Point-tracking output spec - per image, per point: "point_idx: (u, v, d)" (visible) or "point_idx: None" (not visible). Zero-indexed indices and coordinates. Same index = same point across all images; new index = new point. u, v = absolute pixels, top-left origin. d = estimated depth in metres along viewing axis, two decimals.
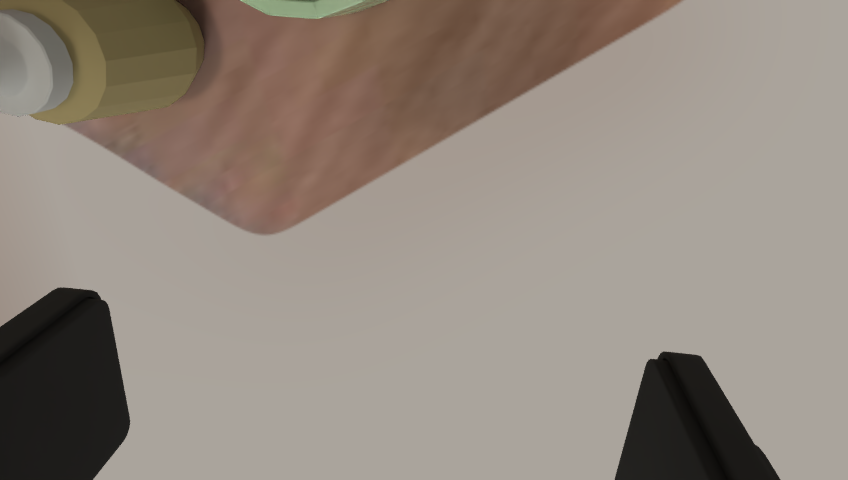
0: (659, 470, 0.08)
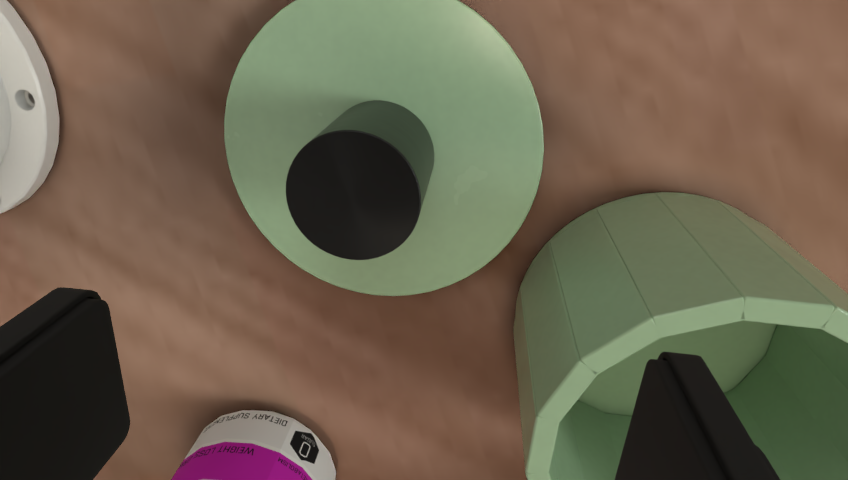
0: (659, 470, 0.08)
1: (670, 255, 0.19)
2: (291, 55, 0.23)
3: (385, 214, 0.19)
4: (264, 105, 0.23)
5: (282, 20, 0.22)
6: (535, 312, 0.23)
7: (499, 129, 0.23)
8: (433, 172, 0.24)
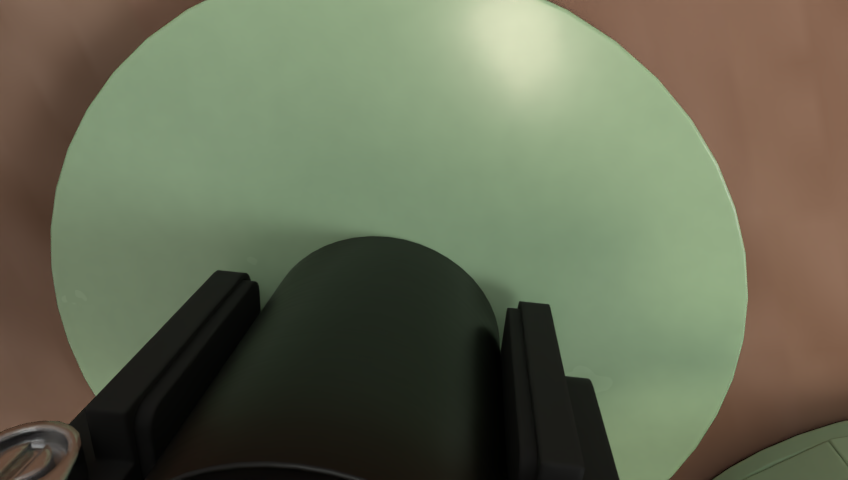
0: (503, 400, 0.09)
1: None
2: (180, 139, 0.10)
3: None
4: (132, 241, 0.11)
5: (153, 61, 0.09)
6: None
7: (647, 300, 0.10)
8: None
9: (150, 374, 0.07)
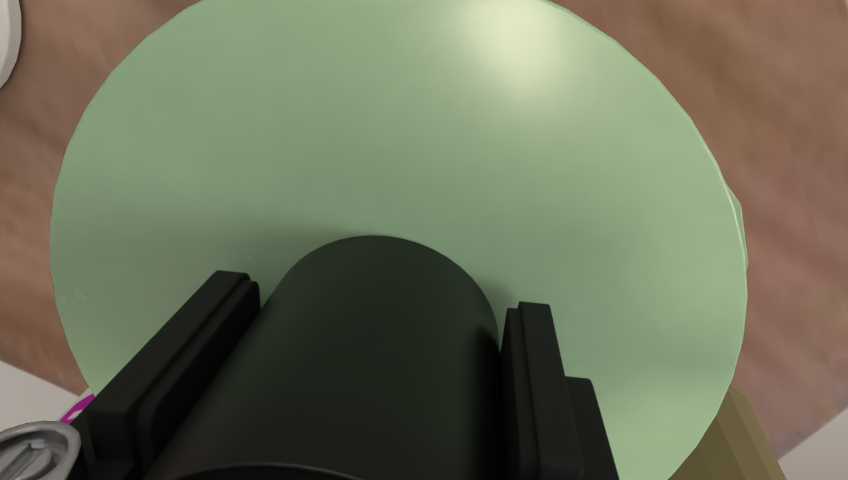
0: (503, 400, 0.09)
1: None
2: (179, 138, 0.10)
3: None
4: (132, 240, 0.11)
5: (151, 61, 0.09)
6: None
7: (647, 299, 0.10)
8: None
9: (150, 374, 0.07)
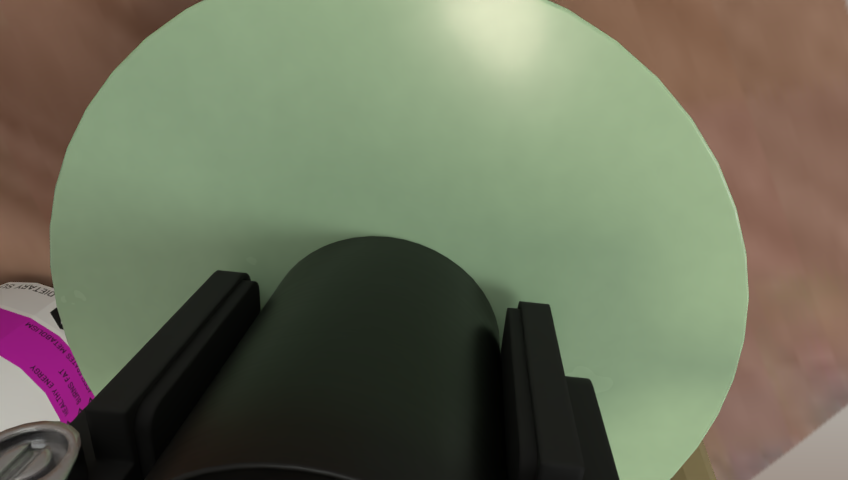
0: (503, 400, 0.09)
1: None
2: (179, 139, 0.10)
3: None
4: (132, 241, 0.11)
5: (152, 61, 0.09)
6: None
7: (648, 299, 0.10)
8: None
9: (150, 374, 0.07)
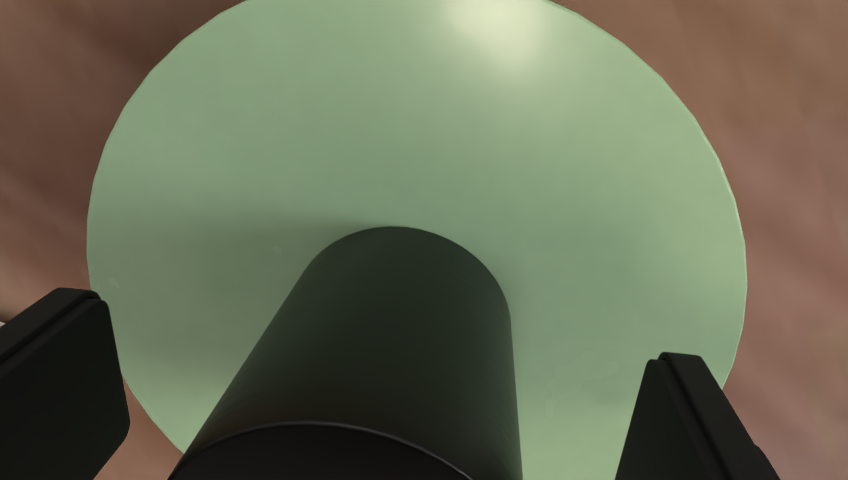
0: (659, 470, 0.08)
1: None
2: (211, 134, 0.11)
3: None
4: (164, 231, 0.11)
5: (188, 61, 0.10)
6: None
7: (652, 287, 0.11)
8: None
9: None
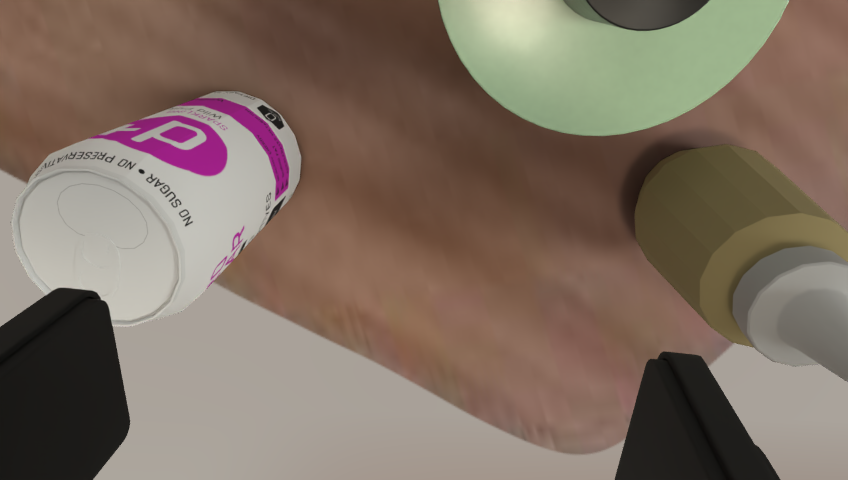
0: (659, 470, 0.08)
1: None
2: None
3: None
4: None
5: None
6: None
7: None
8: None
9: None
